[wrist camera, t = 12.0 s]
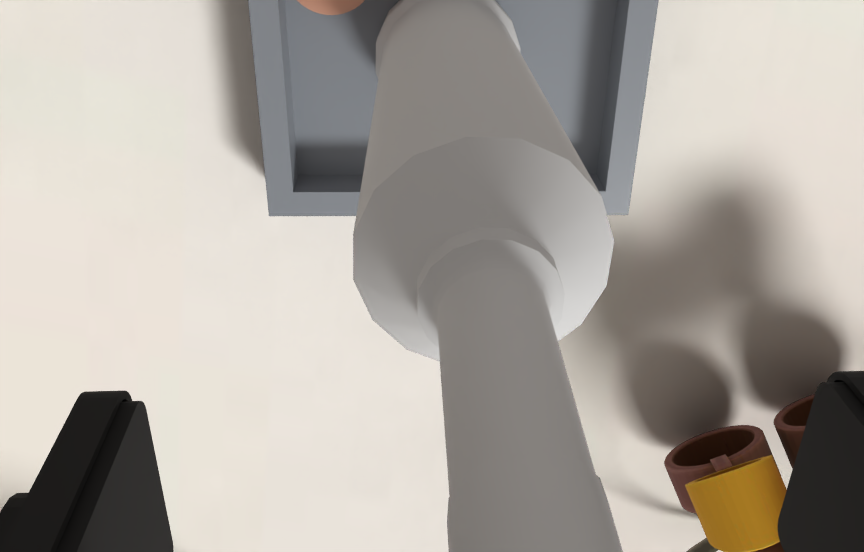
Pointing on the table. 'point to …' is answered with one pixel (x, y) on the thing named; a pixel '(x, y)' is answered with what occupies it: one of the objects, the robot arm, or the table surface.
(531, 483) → the bottle
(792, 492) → the robot arm
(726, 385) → the table surface
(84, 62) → the table surface
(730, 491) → the binoculars
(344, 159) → the tray
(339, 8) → the ball
